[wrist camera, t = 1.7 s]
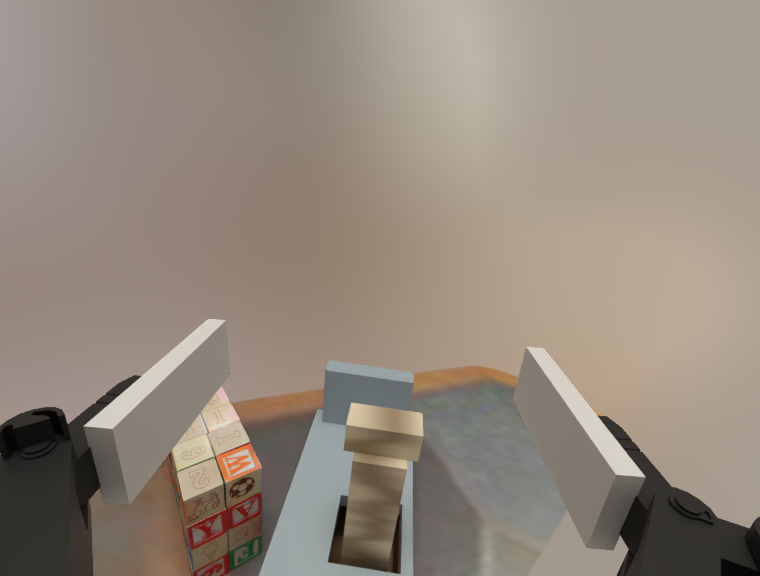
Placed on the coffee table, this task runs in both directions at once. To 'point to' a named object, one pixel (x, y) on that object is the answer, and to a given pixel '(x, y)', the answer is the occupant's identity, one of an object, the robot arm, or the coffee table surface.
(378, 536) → the key
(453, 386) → the coffee table surface
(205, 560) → the stack of blocks
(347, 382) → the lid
